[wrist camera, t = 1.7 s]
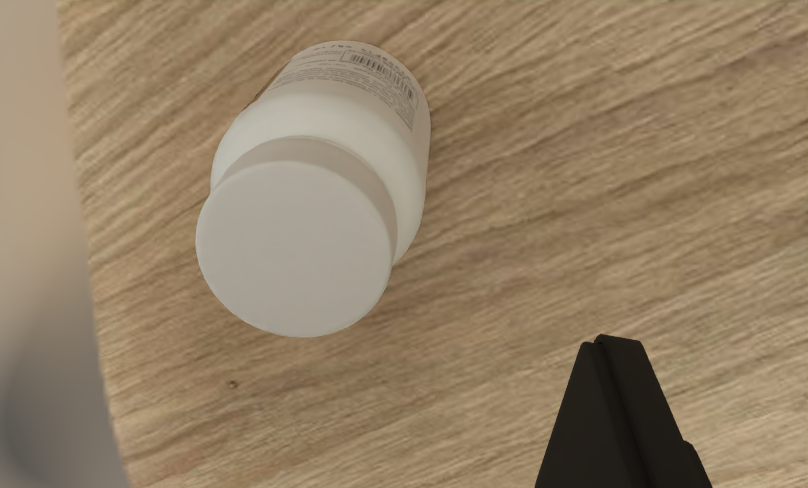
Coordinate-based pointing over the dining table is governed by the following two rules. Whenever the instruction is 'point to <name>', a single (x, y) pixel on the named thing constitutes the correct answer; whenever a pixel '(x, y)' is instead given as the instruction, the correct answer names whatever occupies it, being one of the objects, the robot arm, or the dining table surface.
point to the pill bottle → (317, 191)
